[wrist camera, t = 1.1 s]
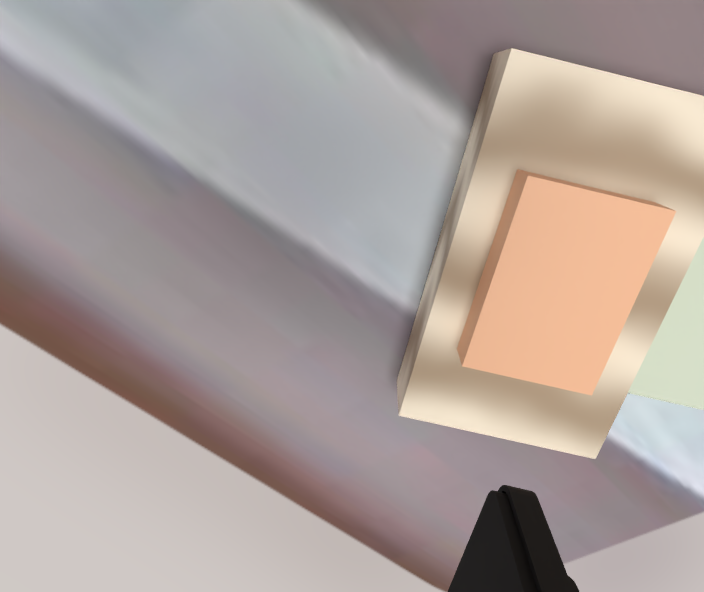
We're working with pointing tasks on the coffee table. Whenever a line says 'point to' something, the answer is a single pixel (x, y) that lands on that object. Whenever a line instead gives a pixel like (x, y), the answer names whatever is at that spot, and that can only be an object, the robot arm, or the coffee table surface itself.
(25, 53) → the coffee table surface
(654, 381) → the mat
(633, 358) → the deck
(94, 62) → the coffee table surface
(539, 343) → the tile
